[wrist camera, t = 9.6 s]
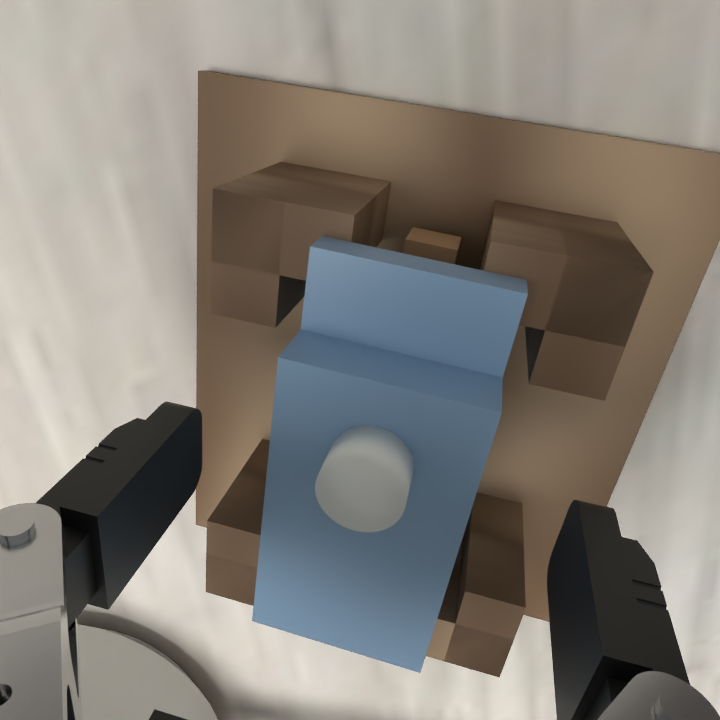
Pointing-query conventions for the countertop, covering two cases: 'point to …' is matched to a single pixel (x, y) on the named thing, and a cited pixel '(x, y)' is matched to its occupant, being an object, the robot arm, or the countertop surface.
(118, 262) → the countertop surface
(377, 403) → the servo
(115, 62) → the countertop surface
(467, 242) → the cradle
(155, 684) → the saucepan
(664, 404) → the countertop surface
